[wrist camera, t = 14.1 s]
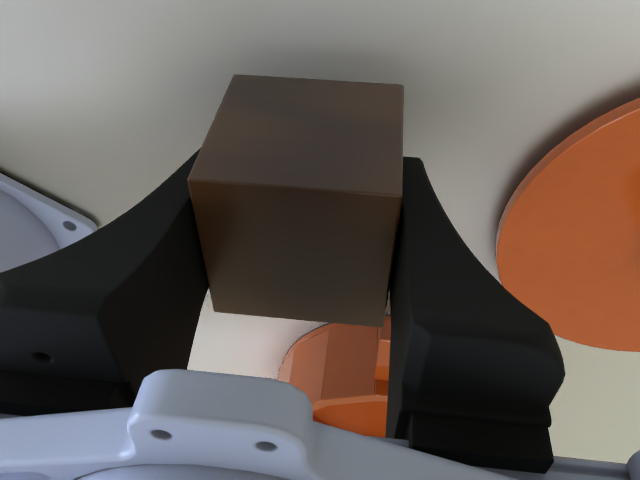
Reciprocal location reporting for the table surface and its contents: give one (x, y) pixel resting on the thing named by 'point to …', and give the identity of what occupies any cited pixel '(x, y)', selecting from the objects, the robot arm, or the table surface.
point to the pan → (343, 375)
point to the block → (301, 198)
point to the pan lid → (580, 234)
